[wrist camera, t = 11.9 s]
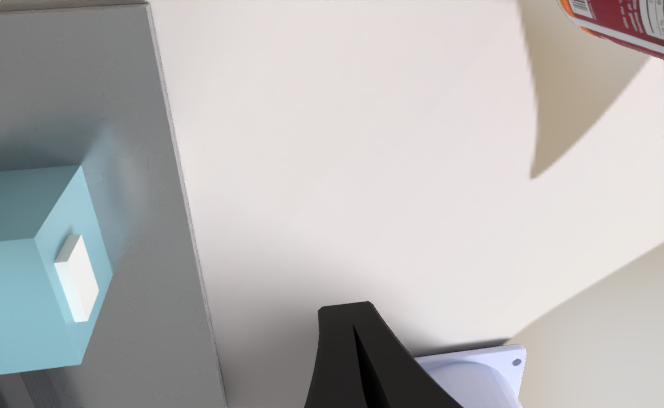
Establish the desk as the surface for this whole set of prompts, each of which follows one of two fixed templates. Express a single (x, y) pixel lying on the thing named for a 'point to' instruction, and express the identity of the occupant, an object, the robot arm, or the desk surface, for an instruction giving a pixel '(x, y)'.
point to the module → (48, 268)
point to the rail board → (112, 204)
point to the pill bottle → (621, 22)
